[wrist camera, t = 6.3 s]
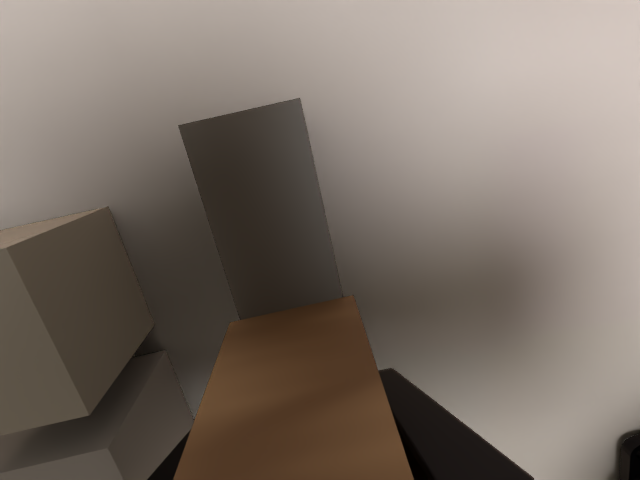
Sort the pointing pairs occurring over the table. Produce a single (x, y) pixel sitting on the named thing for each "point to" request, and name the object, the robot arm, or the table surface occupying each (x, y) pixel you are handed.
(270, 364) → the hoe
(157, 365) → the stone block
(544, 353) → the table surface
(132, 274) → the stone block
